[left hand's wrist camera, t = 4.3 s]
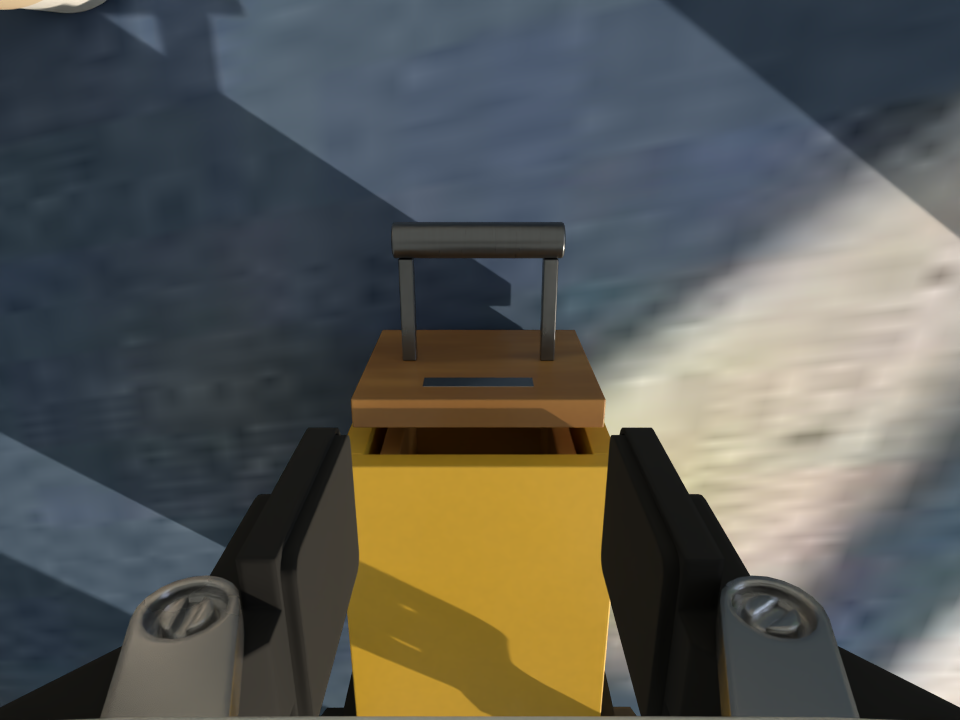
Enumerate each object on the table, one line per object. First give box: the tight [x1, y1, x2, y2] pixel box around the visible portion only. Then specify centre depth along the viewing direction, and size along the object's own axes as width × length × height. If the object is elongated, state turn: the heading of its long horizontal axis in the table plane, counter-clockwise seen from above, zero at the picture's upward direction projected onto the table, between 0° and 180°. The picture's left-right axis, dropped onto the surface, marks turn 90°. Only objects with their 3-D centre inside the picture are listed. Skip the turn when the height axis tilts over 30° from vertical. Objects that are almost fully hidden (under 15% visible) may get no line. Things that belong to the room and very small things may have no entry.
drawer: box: [351, 222, 606, 455], centre depth 30 cm, size 22×10×9 cm, turn 0°
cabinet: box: [347, 423, 610, 716], centre depth 32 cm, size 18×11×10 cm, turn 0°
